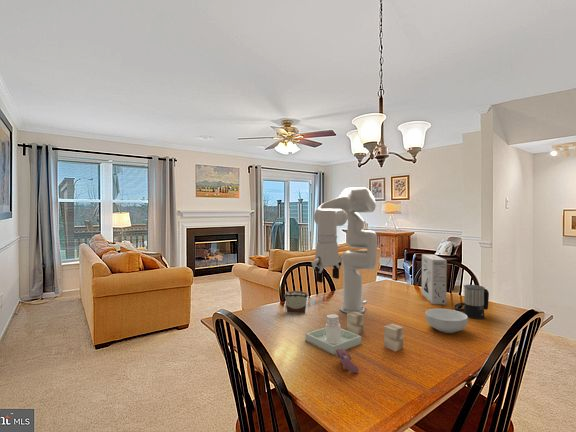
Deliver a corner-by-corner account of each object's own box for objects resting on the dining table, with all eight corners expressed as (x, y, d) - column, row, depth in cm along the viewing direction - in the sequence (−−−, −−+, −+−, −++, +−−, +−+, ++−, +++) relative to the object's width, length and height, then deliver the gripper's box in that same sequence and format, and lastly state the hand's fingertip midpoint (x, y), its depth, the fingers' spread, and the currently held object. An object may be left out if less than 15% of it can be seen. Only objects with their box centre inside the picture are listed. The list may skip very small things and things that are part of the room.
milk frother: (480, 320, 152) (480, 289, 152) (446, 312, 164) (446, 283, 164) (491, 314, 161) (491, 285, 161) (458, 307, 173) (458, 279, 173)
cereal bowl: (434, 320, 153) (434, 305, 152) (472, 329, 141) (473, 313, 141) (419, 329, 141) (419, 313, 140) (460, 340, 129) (460, 323, 129)
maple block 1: (354, 329, 141) (354, 311, 141) (363, 332, 137) (363, 314, 137) (346, 332, 138) (346, 313, 138) (355, 335, 134) (355, 316, 134)
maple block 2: (391, 343, 126) (391, 323, 126) (403, 348, 122) (403, 327, 122) (384, 347, 123) (384, 326, 123) (395, 351, 119) (395, 330, 119)
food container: (308, 309, 169) (308, 290, 168) (308, 313, 163) (308, 294, 162) (285, 309, 170) (285, 290, 170) (284, 312, 164) (284, 293, 164)
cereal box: (421, 294, 200) (421, 254, 199) (434, 294, 199) (434, 254, 198) (432, 304, 178) (432, 259, 178) (446, 304, 177) (446, 259, 177)
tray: (332, 331, 138) (332, 324, 138) (361, 343, 126) (361, 336, 126) (305, 340, 129) (305, 333, 129) (333, 354, 116) (333, 346, 116)
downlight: (345, 338, 130) (343, 313, 129) (342, 345, 123) (341, 319, 123) (325, 336, 132) (324, 312, 132) (321, 343, 125) (320, 318, 125)
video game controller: (340, 364, 112) (331, 347, 112) (351, 358, 113) (342, 341, 112) (348, 379, 102) (338, 360, 102) (360, 372, 103) (351, 353, 102)
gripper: (335, 236, 141) (335, 275, 142) (305, 240, 130) (306, 281, 131) (348, 238, 135) (348, 278, 136) (318, 241, 124) (319, 285, 125)
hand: (327, 280), depth 133 cm, fingers open, 9 cm apart
